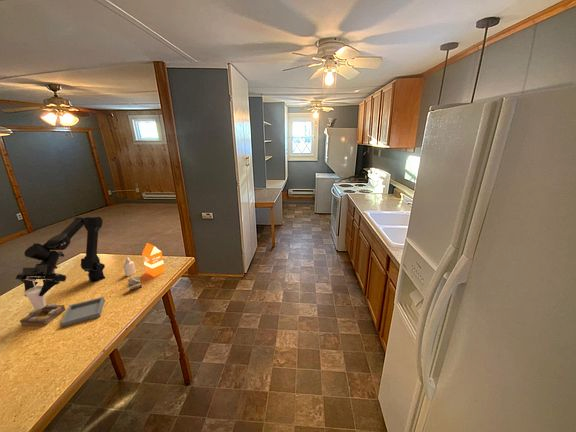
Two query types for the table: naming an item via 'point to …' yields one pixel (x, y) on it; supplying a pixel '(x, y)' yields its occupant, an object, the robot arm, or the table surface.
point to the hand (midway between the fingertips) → (33, 296)
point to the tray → (83, 311)
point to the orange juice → (153, 260)
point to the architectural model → (134, 283)
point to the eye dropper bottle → (129, 267)
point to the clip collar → (52, 309)
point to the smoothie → (36, 297)
